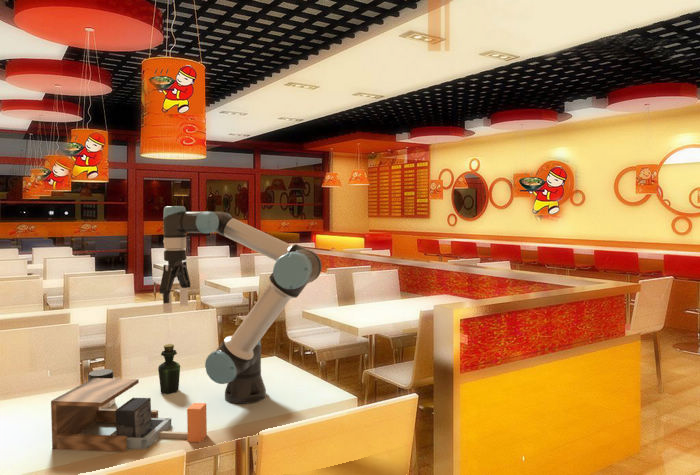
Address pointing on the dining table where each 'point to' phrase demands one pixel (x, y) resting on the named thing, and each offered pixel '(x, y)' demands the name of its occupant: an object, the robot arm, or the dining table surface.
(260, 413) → the dining table surface
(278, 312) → the robot arm
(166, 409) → the dining table surface
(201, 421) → the grey and orange frame
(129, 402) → the small box
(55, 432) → the shelf lane
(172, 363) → the potion bottle
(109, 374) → the jar
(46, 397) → the dining table surface
